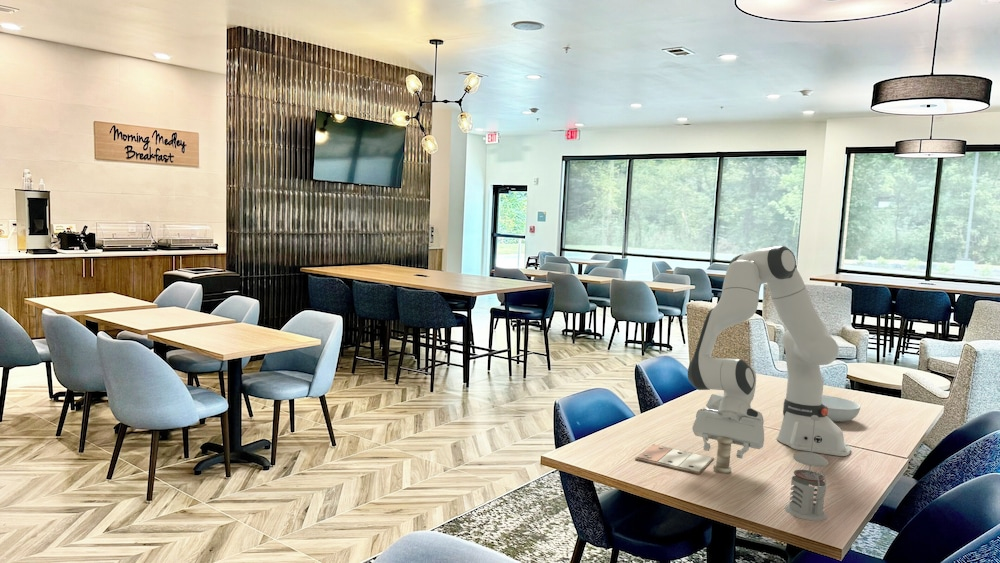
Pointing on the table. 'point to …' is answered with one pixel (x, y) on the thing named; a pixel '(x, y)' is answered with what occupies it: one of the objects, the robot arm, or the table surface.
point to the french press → (805, 493)
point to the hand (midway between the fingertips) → (722, 453)
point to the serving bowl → (840, 408)
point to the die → (714, 401)
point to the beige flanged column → (723, 455)
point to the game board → (675, 459)
